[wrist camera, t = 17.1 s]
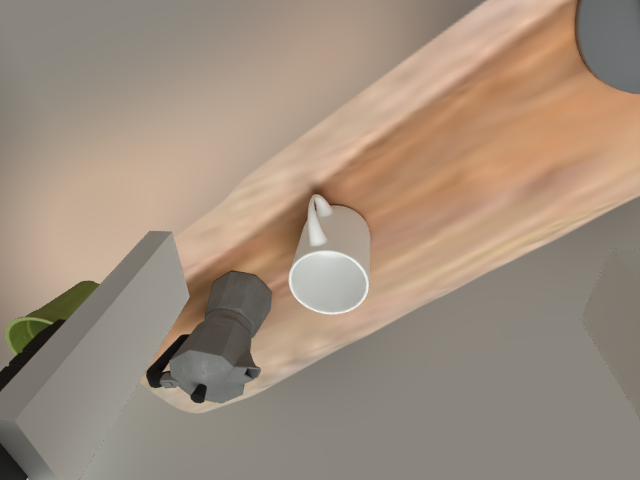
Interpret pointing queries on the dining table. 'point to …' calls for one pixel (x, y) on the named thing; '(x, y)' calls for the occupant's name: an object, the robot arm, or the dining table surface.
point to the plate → (610, 41)
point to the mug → (331, 259)
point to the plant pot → (47, 316)
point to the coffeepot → (218, 343)
